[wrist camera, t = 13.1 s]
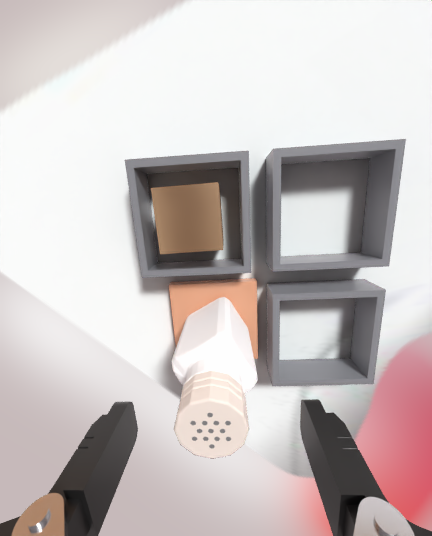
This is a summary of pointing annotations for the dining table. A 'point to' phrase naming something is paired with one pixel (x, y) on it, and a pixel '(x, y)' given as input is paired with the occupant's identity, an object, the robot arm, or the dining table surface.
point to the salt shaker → (214, 380)
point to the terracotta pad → (204, 292)
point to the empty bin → (376, 208)
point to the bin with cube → (144, 221)
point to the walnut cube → (188, 218)
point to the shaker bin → (363, 337)
